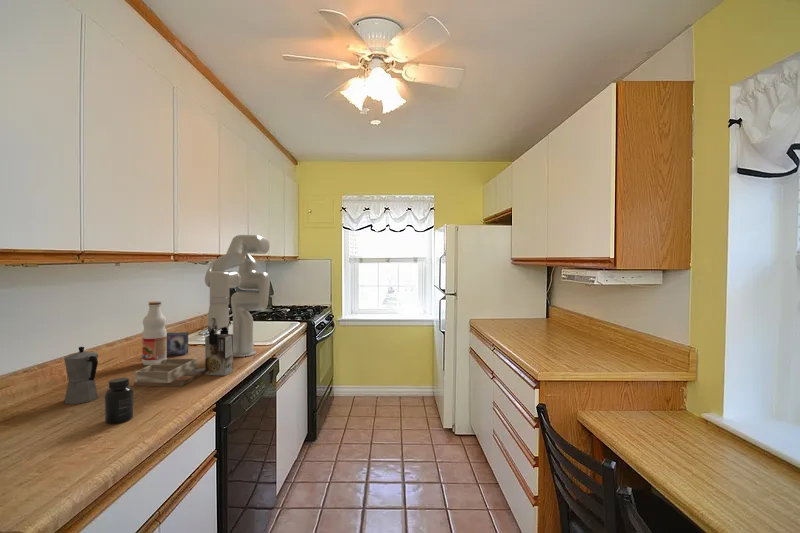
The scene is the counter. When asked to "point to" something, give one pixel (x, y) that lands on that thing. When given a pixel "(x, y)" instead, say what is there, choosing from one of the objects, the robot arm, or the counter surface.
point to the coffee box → (219, 355)
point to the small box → (177, 343)
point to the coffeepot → (81, 377)
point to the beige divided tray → (169, 373)
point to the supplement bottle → (118, 401)
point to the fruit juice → (154, 335)
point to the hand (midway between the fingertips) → (218, 341)
